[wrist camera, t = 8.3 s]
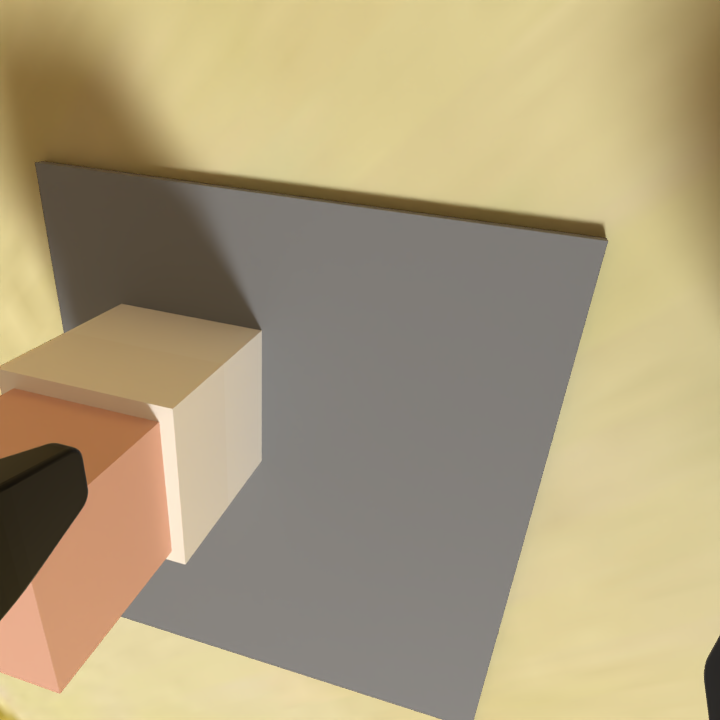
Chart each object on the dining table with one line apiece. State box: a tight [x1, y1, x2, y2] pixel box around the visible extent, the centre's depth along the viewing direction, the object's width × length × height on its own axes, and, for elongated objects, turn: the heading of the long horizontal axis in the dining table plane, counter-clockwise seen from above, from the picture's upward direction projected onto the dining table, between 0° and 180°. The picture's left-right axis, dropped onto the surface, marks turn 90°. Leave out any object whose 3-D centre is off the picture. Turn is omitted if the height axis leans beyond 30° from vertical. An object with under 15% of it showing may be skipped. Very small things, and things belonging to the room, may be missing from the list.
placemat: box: [35, 161, 608, 720], centre depth 24 cm, size 20×24×1 cm
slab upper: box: [0, 332, 228, 565], centre depth 19 cm, size 6×6×3 cm
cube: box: [0, 388, 172, 693], centre depth 16 cm, size 5×5×5 cm
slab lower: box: [67, 304, 262, 506], centre depth 22 cm, size 6×6×3 cm
